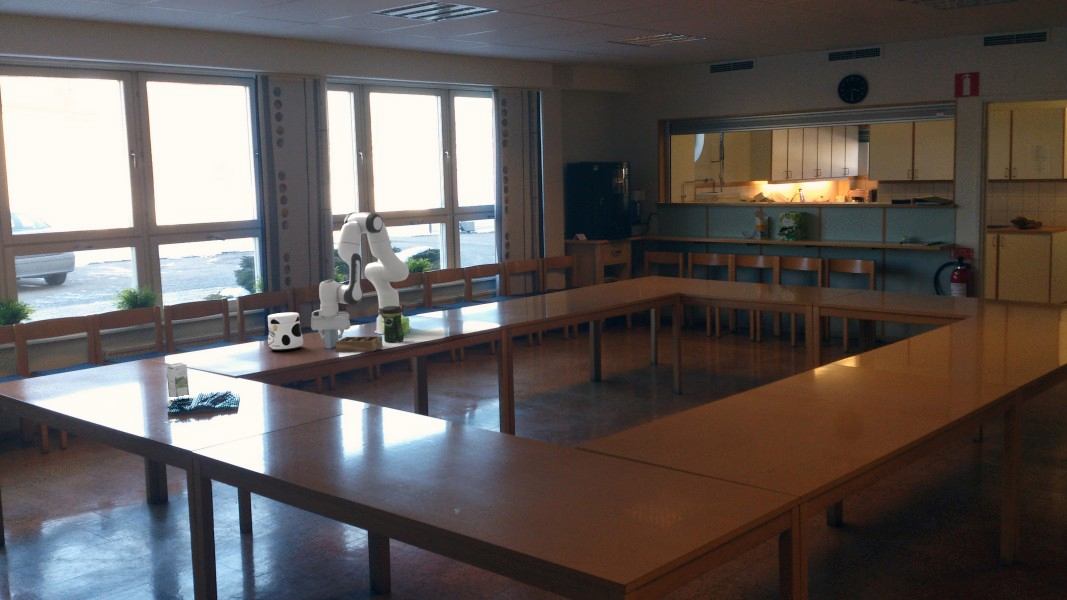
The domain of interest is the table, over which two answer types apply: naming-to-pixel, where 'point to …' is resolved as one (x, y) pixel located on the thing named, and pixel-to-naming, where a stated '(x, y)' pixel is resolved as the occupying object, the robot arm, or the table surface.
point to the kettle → (404, 325)
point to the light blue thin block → (331, 338)
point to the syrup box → (177, 380)
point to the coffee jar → (392, 324)
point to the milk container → (284, 332)
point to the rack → (358, 344)
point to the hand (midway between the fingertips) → (331, 338)
